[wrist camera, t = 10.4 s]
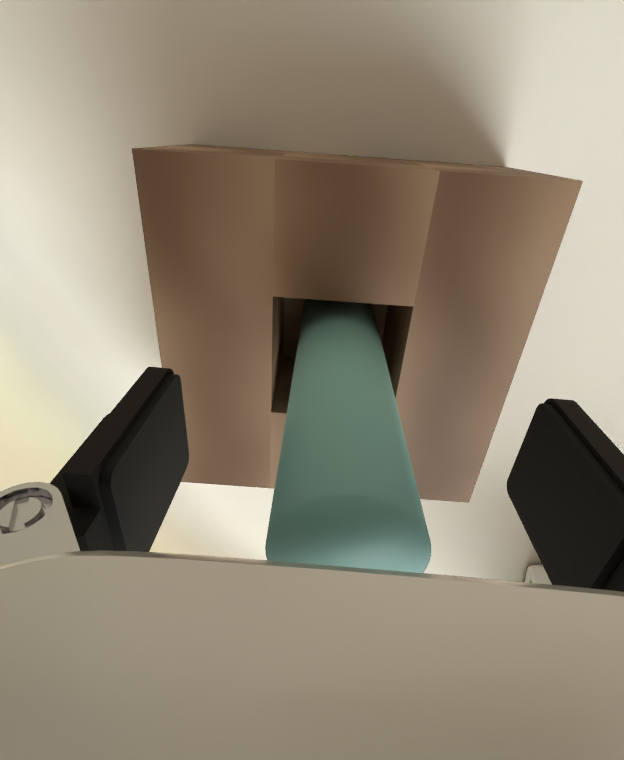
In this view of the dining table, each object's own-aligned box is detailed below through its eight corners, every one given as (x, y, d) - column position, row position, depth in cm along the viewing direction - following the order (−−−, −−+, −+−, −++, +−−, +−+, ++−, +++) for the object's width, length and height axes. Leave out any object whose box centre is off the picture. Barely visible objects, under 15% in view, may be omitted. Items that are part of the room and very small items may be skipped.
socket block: (506, 167, 16) (582, 181, 11) (438, 422, 22) (468, 502, 17) (191, 144, 16) (131, 148, 11) (210, 406, 22) (177, 481, 17)
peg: (377, 282, 17) (448, 501, 7) (368, 347, 19) (414, 608, 8) (305, 276, 17) (265, 488, 7) (301, 342, 19) (264, 597, 8)
